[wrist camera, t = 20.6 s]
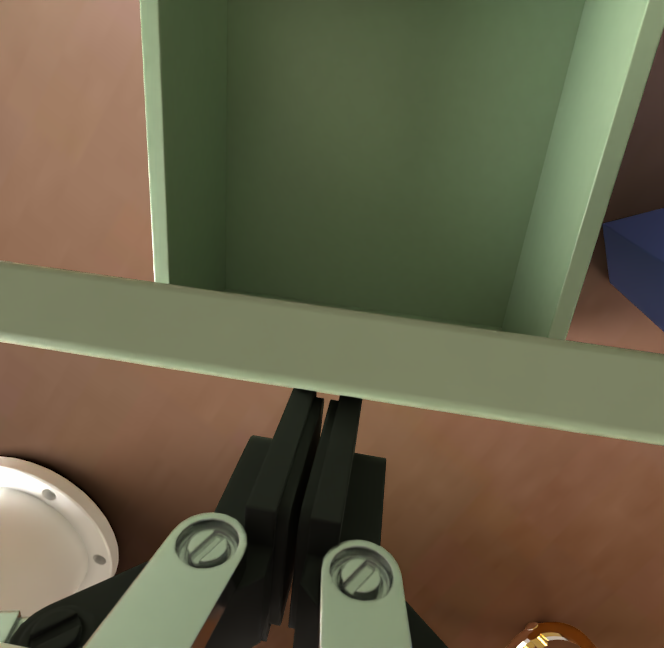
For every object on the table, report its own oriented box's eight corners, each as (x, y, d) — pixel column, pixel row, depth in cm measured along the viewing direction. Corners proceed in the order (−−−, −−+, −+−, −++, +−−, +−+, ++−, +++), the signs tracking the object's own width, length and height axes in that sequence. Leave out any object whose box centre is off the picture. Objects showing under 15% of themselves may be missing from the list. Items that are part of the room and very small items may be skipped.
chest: (218, -54, 19) (131, -125, 13) (604, -25, 18) (700, -87, 12) (218, 293, 25) (157, 353, 19) (509, 335, 24) (543, 413, 18)
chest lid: (-569, 178, 4) (-599, 246, 4) (1414, 457, 3) (1426, 563, 3) (154, 349, 19) (151, 365, 19) (546, 410, 18) (544, 427, 18)
